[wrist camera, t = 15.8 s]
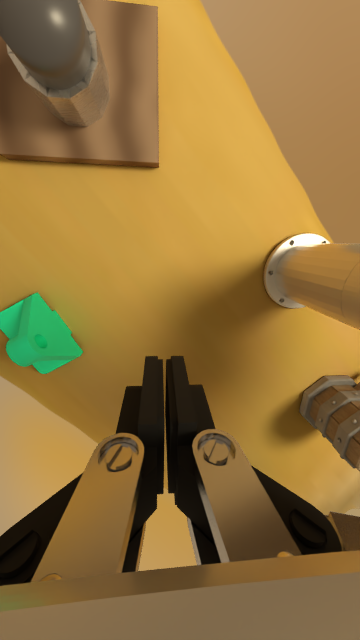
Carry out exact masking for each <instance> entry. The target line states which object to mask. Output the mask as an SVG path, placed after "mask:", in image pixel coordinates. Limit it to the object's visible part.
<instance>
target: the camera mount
mask: <svg viewBox="0 0 360 640" xmlns="http://www.w3.org/2000/svg"><path fill="white" fill-rule="evenodd" d="M0 329H1V330H2V331H3V332H4V333H5V335H6V336H7V337H8V338H9V339H10V340H9V341H8V342H7V344H6V351H7V354H8V356H9V357H10V359H11V360H12V361H13V362H14V363H16V364H17V365H20V366H24V367H26V366H30V365H33V366H34V367H35V368H36V369H37V371H38V372H40V373H42V374H47V373H49V372H51V371H53V370H55V369H57V368H58V367H60V366H62V365H64V364H66V363H68V362H70V361H72V360H74V359H76V358H77V357H79V356H81V354H82V353H83V351H82V350H81V348H80V347H79V346H78V344H77V343H76V342H75V340H74V339H73V338H72V337H71V334H72V332H71V331H70V329H69V328H68V327H67V325H66V324H65V323H64V322H63V320H62V319H61V318H60V316H59V315H58V314H57V312H56V311H55V310H54V311H51V309H50V308H49V307H48V305H47V304H46V303H45V301H44V300H43V299H42V298H41V296H40V295H39V294H38V292H37V293H35V294H33V295H31V296H29V297H27V298H25V299H24V300H22V301H20V302H18V303H16V304H15V305H13V306H11V307H9V308H7V309H6V310H4V311H2V312H0Z"/></svg>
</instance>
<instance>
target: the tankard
mask: <svg viewBox="0 0 360 640" xmlns="http://www.w3.org/2000/svg"><path fill="white" fill-rule="evenodd" d="M299 412H300V413H301V415H302V416H303V417H304V418H305V419H306V420H307V421H308V422H309V423H310V424H311V425H312V426H313V427H314V428H315V429H319V431H320V432H321V433H322V436H323V437H326V438H327V439H328V440H329V441H330V442H331V443H332V446H333V447H334V448H335V449H336V450H337V452H338V453H339V454H340V457H341V458H342V459H345V460H346V461H347V462H348V463H349V464H350V465H351V466H352V467H353V468H357V469H358V470H359V471H360V382H359V383H358V384H356V383H355V382H354V380H353V379H352V378H350V377H349V376H348V375H343V376H324V377H322V378H321V379H320V380H318V381H317V382H316V383H314V384H313V385H312V386H311V387H309V388H308V389H307V390H305V391H304V393H303V398H302V402H301V406H300V410H299Z"/></svg>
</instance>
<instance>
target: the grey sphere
mask: <svg viewBox="0 0 360 640" xmlns="http://www.w3.org/2000/svg"><path fill="white" fill-rule="evenodd" d="M0 36H1V37H2V39H3V40H4V41H5V43H6V44H7V45H8V46H9V48H10V49H11V50H12V52H13V53H14V54H15V56H16V57H17V58H18V60H19V61H20V62H21V64H22V65H23V66H24V67H25V69H26V70H27V71H28V72H29V74H30V75H31V76H32V77H33V78H34V79H35V80H37V81H38V82H39V83H41V84H42V85H44V86H46V87H48V88H52V89H56V90H65V89H69V88H72V87H74V86H76V85H77V84H78V83H79V82H80V81H81V80H82V79H83V78H84V76H85V75H86V73H87V70H88V68H89V64H90V59H91V44H90V38H89V33H88V30H87V27H86V24H85V21H84V18H83V15H82V12H81V9H80V6H79V3H78V0H0Z"/></svg>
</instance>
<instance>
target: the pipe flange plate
mask: <svg viewBox="0 0 360 640" xmlns="http://www.w3.org/2000/svg"><path fill="white" fill-rule="evenodd" d="M78 3H79V6H80V9H81V12H82V15H83V18H84V21H85V24H86V27H87V30H88V33H89V38H90V44H91V59H90V64H89V68H88V70H87V73H86V75H85V76H84V78H83V79H82V80H81V81H80V82H79V83H78V84H77V85H76V86H74V87H72V88H69V89H65V90H56V89H52V88H48V87H46V86H44V85H42V84H41V83H39V82H38V81H37V80H35V79H34V78H33V77H32V76H31V75H30V74H29V72H28V71H27V70H26V69H25V67H24V66H23V65H22V64H21V62H20V61H19V60H18V58H17V57H16V56H15V54H14V53H13V52H12V50H11V49H10V48H9V46H8V45H7V44H6V43H5V41H4V40H3V39H2V37H1V36H0V154H1V155H2V156H4V157H6V158H8V159H14V160H32V161H50V162H69V163H87V164H105V165H124V166H142V167H159V133H158V7H157V6H149V5H141V4H133V3H125V2H116V1H108V0H78Z"/></svg>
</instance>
